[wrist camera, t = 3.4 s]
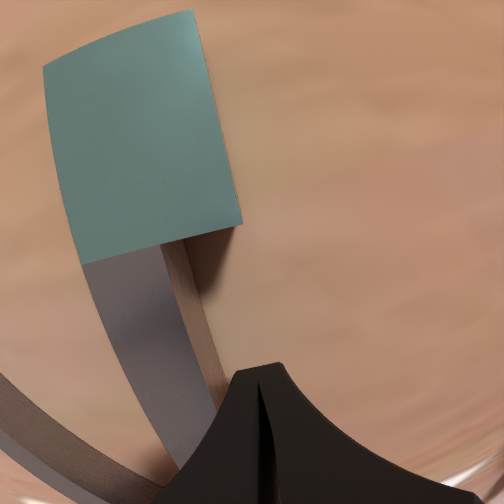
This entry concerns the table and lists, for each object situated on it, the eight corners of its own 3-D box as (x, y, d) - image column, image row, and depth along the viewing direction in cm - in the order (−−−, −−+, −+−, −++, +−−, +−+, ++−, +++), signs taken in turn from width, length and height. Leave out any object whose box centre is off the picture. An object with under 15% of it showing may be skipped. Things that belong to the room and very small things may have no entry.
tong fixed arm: (217, 539, 14) (217, 577, 11) (-81, 325, 10) (-113, 348, 6) (277, 514, 13) (283, 558, 10) (-71, 256, 9) (-115, 275, 6)
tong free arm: (308, 495, 12) (316, 532, 10) (235, 507, 12) (236, 544, 10) (202, 47, 8) (192, 8, 5) (83, 87, 8) (42, 66, 5)
